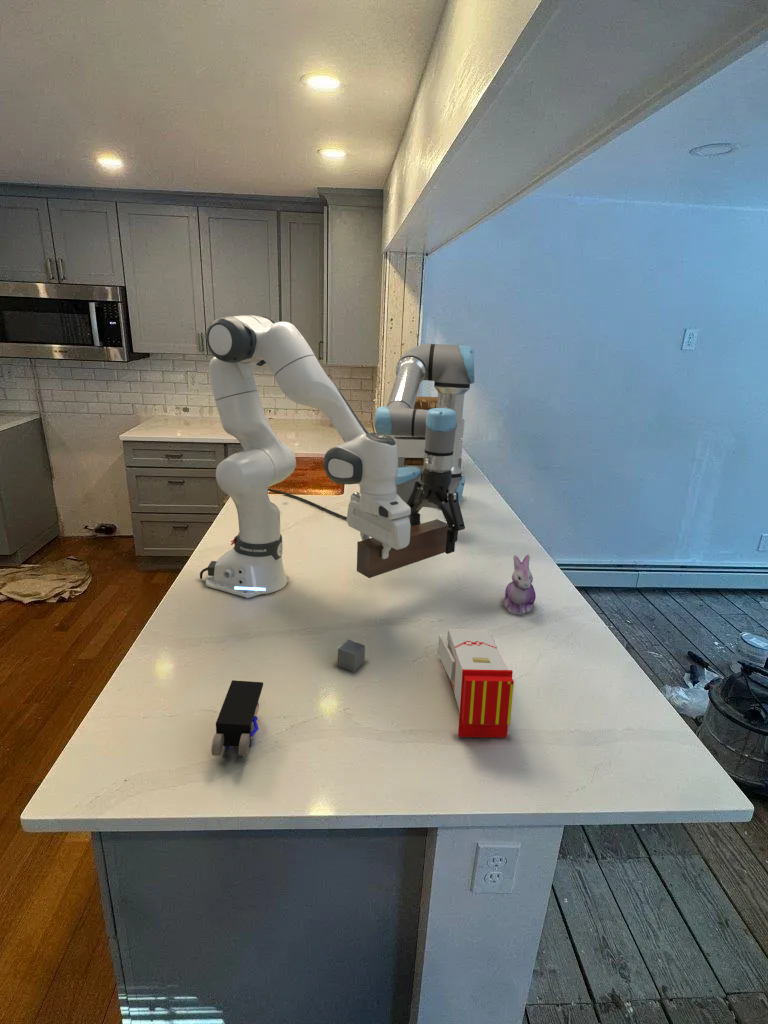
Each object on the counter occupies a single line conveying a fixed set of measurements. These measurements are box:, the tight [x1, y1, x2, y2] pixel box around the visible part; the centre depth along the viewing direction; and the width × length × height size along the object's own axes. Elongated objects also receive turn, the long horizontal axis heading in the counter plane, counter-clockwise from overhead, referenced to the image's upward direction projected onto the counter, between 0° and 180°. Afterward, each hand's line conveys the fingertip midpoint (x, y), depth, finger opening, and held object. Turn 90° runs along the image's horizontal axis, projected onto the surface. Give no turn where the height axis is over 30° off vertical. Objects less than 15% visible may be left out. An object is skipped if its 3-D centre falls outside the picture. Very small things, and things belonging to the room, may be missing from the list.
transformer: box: [388, 395, 465, 470], centre depth 268 cm, size 34×33×41 cm
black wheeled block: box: [211, 679, 264, 761], centre depth 102 cm, size 7×8×15 cm
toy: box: [437, 628, 515, 738], centre depth 117 cm, size 12×13×30 cm
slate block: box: [336, 639, 366, 673], centre depth 125 cm, size 4×4×4 cm
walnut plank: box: [356, 518, 450, 579], centre depth 148 cm, size 5×28×8 cm, turn 131°
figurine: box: [503, 553, 537, 615], centre depth 151 cm, size 9×10×15 cm
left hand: (375, 553), depth 141 cm, fingers closed on walnut plank, 5 cm apart
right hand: (431, 544), depth 155 cm, fingers open, 13 cm apart
